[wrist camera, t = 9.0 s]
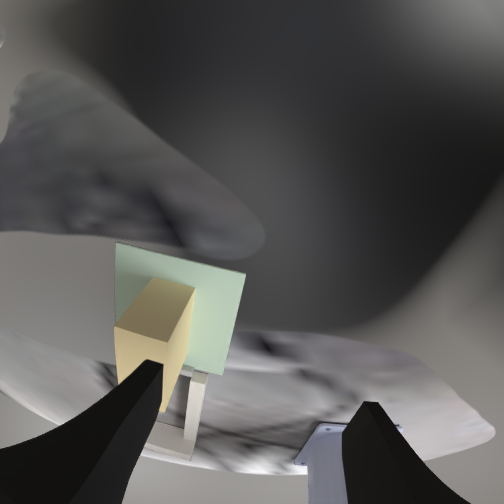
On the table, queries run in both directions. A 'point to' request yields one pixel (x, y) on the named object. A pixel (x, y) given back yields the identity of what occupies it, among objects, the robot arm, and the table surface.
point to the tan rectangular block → (156, 331)
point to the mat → (205, 300)
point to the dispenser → (184, 439)
